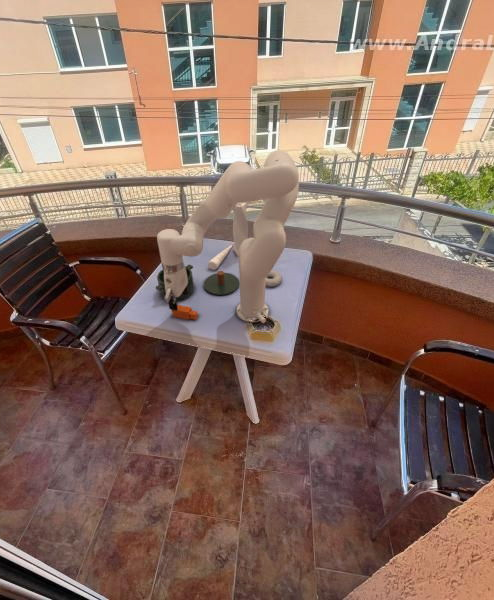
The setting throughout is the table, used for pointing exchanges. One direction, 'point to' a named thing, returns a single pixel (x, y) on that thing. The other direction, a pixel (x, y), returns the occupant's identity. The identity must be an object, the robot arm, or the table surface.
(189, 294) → the pot
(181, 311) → the orange bottle
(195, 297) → the table surface
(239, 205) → the grater
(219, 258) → the unicorn horn
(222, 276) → the pot lid
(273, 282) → the donut
